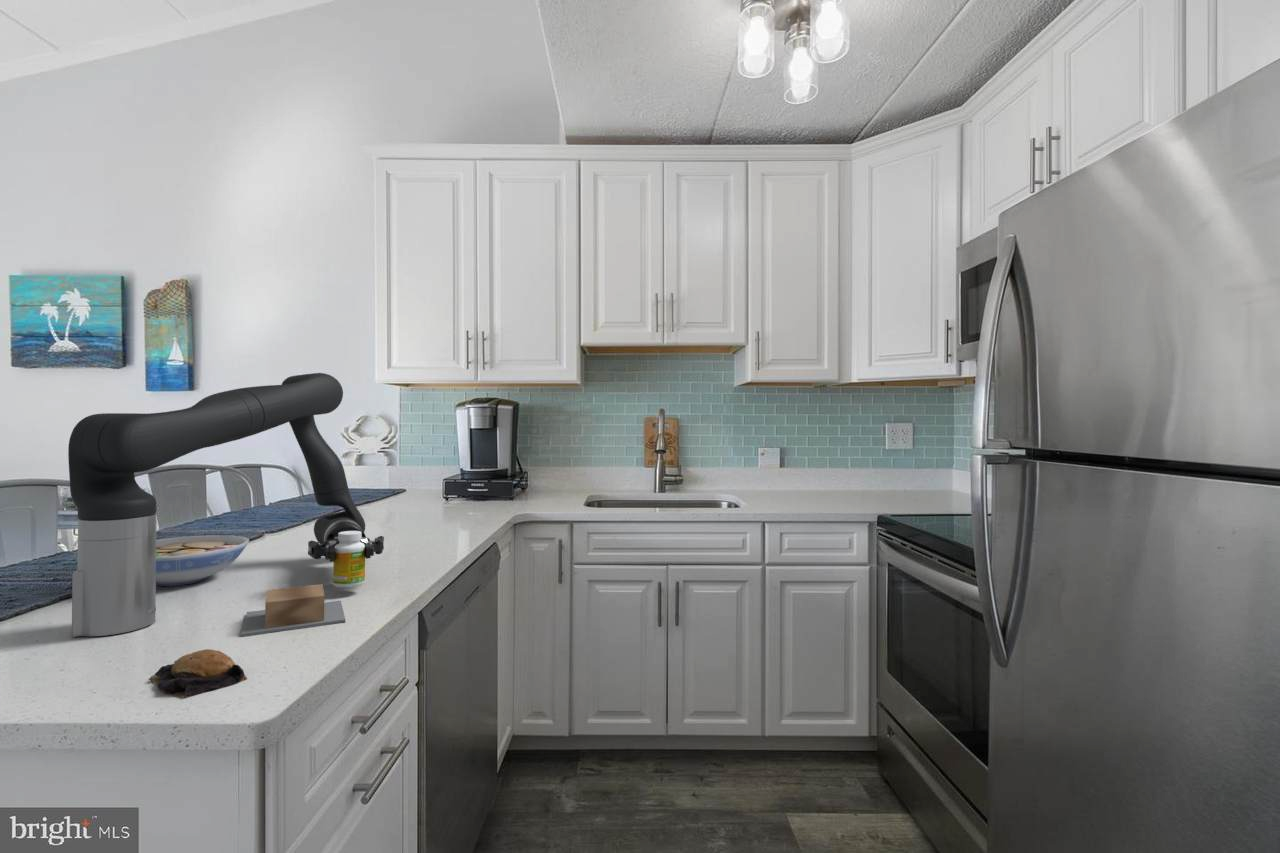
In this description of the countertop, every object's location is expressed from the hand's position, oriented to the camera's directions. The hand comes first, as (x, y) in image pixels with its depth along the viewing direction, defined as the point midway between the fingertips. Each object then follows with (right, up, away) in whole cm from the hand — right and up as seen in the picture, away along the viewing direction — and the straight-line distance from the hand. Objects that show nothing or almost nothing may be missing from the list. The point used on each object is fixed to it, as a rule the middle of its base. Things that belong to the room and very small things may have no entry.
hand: (350, 554), depth 110 cm
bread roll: (-2, -9, -36) cm, 37 cm away
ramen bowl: (-39, -8, +10) cm, 41 cm away
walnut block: (-3, -7, -13) cm, 15 cm away
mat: (-3, -8, -12) cm, 15 cm away
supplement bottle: (-1, -6, +2) cm, 7 cm away
